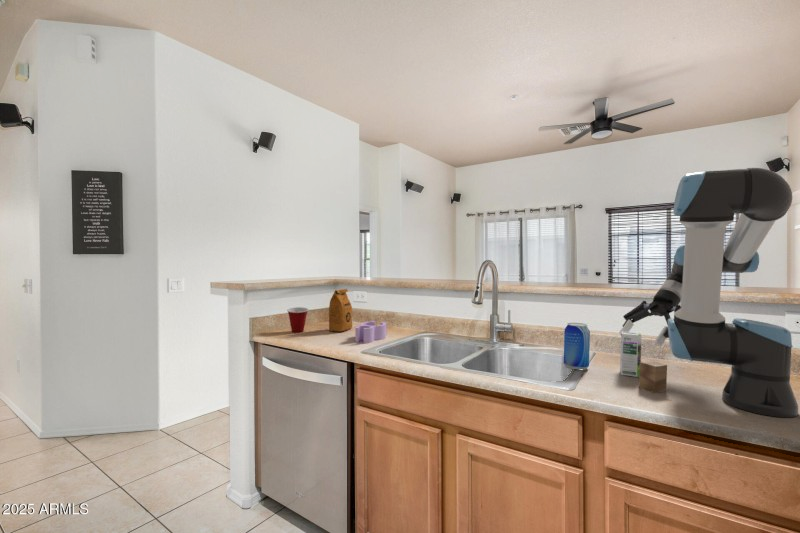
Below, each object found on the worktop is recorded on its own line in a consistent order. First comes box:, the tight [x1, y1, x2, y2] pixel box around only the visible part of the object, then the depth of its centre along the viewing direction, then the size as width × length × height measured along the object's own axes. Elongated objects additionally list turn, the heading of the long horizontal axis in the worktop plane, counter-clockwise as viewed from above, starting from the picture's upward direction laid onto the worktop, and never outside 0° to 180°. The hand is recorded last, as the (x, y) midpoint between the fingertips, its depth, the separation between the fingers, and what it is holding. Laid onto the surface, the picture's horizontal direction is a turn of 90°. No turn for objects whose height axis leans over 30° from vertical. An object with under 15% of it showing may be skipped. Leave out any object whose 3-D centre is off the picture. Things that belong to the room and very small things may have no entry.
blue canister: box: [563, 322, 591, 371], centre depth 137 cm, size 8×8×16 cm
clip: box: [354, 320, 388, 344], centre depth 181 cm, size 20×12×7 cm, turn 157°
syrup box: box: [619, 331, 642, 378], centre depth 130 cm, size 6×6×14 cm
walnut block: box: [638, 360, 668, 394], centre depth 116 cm, size 5×5×8 cm
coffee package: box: [328, 288, 353, 333], centre depth 199 cm, size 10×12×22 cm
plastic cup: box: [286, 306, 309, 334], centre depth 195 cm, size 11×11×12 cm
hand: (638, 339), depth 133 cm, fingers open, 13 cm apart
